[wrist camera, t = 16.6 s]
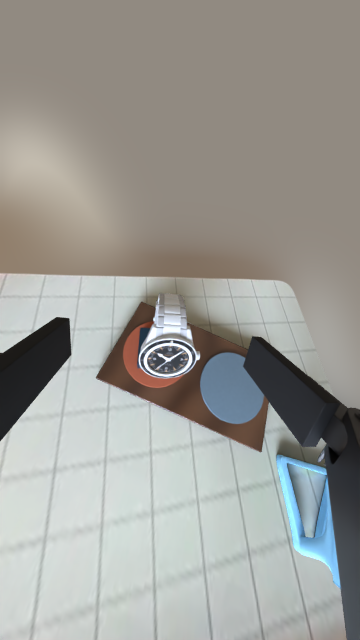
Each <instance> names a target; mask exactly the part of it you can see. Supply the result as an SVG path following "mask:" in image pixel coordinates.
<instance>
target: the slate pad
mask: <svg viewBox="0 0 360 640" xmlns="http://www.w3.org/2000/svg"><path fill="white" fill-rule="evenodd" d="M244 361H245V357H243V356H241V355H238V354H235V353H229V352H227V353H220V354H218V355H216V356H214V357H212V358H211V359H210V360H209V361H208V362H207V363H206V365H205V366H204V368H203V371H202V374H201V379H200V388H201V393H202V397H203V400H204V402H205V404H206V405H207V407H208V408H209V410H210V411H211V412H212V413H213V414H214V415H215V416H216V417H218V418H219V419H221V420H223V421H225V422H228V423H233V424H241V423H245V422H248V421H250V420H251V419H253V418H254V417H255V416H256V415H257V413H258V412H259V411H260V409H261V406H262V404H263V399H264V394H263V393H262V392H261V390H260V389H259V388H258V386H257V385H256V384H255V382H254V381H253V379H252V378H251V377H250V375H249V374H248V373H247V371H246V370H245V369H244V367H243V364H244Z"/></svg>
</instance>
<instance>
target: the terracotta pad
mask: <svg viewBox="0 0 360 640" xmlns="http://www.w3.org/2000/svg"><path fill="white" fill-rule="evenodd" d="M153 324H154V321H151V322H147V323H144V324H142V325H140V326H139V327H137V328H136V329H135V330H133V331H132V333H131V334H130V335H129V337H128V338H127V340H126V342H125V345H124V350H123V359H124V363H125V366H126V369H127V370H128V372H129V374H130V375H131V376H132V377H133V378H134V379H135V380H136V381H138V382H139V383H141V384H143V385H145V386H149V387H156V388H158V387H165V386H168V385H171V384H173V383H175V382H176V381H178V380H179V379H180V378H181V377H182V376H183V375H184V374H183V375H181V376H178V377H174V378H158V377H154V376H151V375H149V374H147V373H146V372H144V370H143V369H141V368H137V358H138V346H139V334H140V328H151V326H152V325H153Z"/></svg>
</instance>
